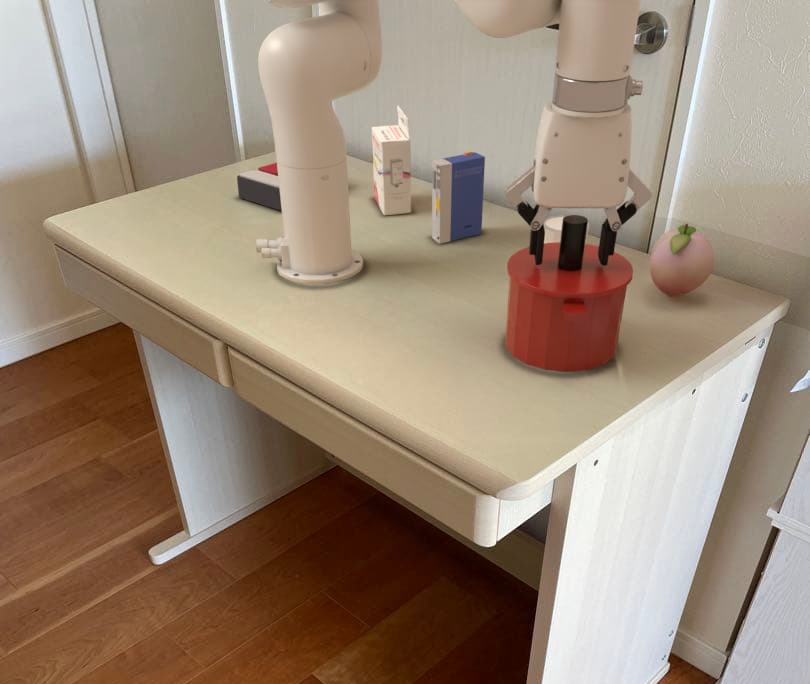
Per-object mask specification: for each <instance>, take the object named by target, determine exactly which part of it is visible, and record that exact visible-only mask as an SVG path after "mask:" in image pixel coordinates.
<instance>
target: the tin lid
mask: <svg viewBox="0 0 810 684" xmlns="http://www.w3.org/2000/svg"><path fill="white" fill-rule="evenodd" d="M588 223H589V218H588V217H585V216H583V215H578V214H570V215H567V216H565V217H564V218H563V222H562V231H561V240H560V242H555V243H544V249H543V259H542V264H540V265H536V264H535V258H534V255H530V254H529V246H527V247H525V248H524V247H523V248H522V249H520V250H518V251H516V252H515V253H513V254H512V255H511V256H510V257H509V258H508V260H507V263H506V266H507V267H506V272H507V275H508V278H509V279H510V278H511V279H512V280H513V281H514V282H515V283H517V284H518V285H520V286H521V287H523V288H526V289H528V290H530V291H533V292H536V293H540V294H543V295H548V296H554V297H561V298H593V297H600V296H605V295H609V294H612V293H615V292H617V291H620V290H621V289H623V288H625V287H626V286H627V287H628V286H629V285H630V284H631V282H632V280H633V276H634V268H633V266H632V263H631V262H630V261H629V260H628V259H627V258H626V257H625V256H623V255H621V254H619V253H618V252H616V251H614V254H613V255H609V257H608V263H607V266H602V264H600V261H599V257H598V250H599V245H594V244H588V243H586V244H585V239H586V231H587V224H588Z"/></svg>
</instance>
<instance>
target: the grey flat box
mask: <svg viewBox="0 0 810 684" xmlns="http://www.w3.org/2000/svg"><path fill="white" fill-rule="evenodd" d="M236 180H237V181H236V182H237V193H238V198H240V199H242V200H246V201H249V202H253V203H255V204H258V205H262V206H265V207H267V208H270V209H274V210H277V211H280V212H282V208H281V199H280V189H279V180H278V170H277V162H274V163H270V164H266V165H263V166H260V167H258V168H257V169H253V170H249V171H245V172H242V173H240V174H239V175H237V176H236Z"/></svg>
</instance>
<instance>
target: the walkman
mask: <svg viewBox="0 0 810 684" xmlns="http://www.w3.org/2000/svg"><path fill="white" fill-rule="evenodd" d="M485 162H486V156H484V155H482V154H480V153H478V152H475V151H474V152H473V151H472V150H468V151H464V152H463V154H459V155H454V156H447V157H444V158H439V159H433V160H432V169H431V170H432V171H431V172H432V174H431V175H432V176H431V177H432V178H431V180H432V181H431V182H432V183H431V185H432V186H431V188H432V189H431V191H432V192H431V193H432V194H431V239H432V240H434V242H436V243H437V244H439V245H440V244H445V243H450V242H453V241H457V240H461V239H465V238H469V237H470V238H471V237H474V236H478V235H482V233H483V231H482V229H483V210H484V209H483V207H484V187H485V166H486V165H485V164H486V163H485Z"/></svg>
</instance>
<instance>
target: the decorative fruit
mask: <svg viewBox="0 0 810 684" xmlns="http://www.w3.org/2000/svg"><path fill="white" fill-rule="evenodd" d="M714 266H715V251H714V248H713V245H712V242H711V241H710V240H709V239H708V237H706V236H705V235H703V234H702V233H701V232H698V231H697V228H696V227H694V226H693V225H689V224H688V223H685V224H683V225H679V226H678V227H677V228H674V229H670V230H669V231H666V232H665V233H663V234H662V235H660V237H659V238H658V239H657V240H656V241H655V243H654V244H653V247H652V249H651V254H650V260H649V272H650V276H651V280H652V282H653V284H654V285H655V287H656V288H657V289H658V290H659V291H660V292H662V293H663V294H665V295H666V296H668V297H671V298H672V297H678V296H683V295H686V294H689V293H691V292H693V291H695V290H697V289H698V288H699V287H701V286H702V285H704V283H705V282H707V280H708V279H709V277H710V276H711V274H712V272H713V269H714Z"/></svg>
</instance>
